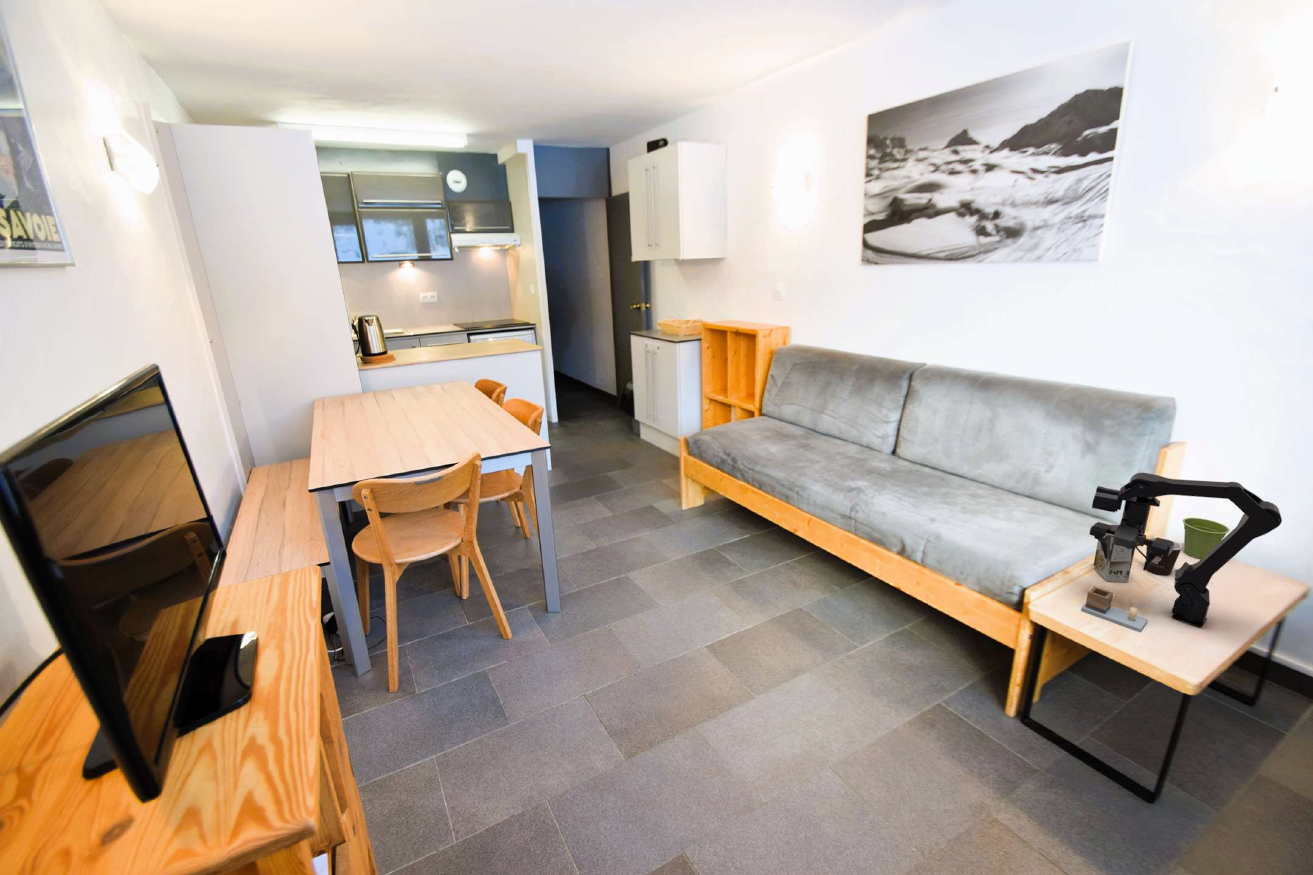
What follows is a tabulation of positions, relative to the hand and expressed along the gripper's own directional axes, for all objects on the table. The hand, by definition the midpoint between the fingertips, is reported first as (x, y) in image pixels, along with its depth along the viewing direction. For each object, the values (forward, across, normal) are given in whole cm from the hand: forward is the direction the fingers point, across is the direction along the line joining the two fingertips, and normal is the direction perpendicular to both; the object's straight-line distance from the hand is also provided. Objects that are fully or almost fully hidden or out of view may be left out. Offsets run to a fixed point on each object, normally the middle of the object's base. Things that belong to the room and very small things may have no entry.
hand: (1124, 564), depth 173 cm
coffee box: (+12, -6, +15) cm, 20 cm away
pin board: (+12, +2, -11) cm, 16 cm away
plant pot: (+12, +9, +52) cm, 54 cm away
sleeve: (+11, -2, -11) cm, 16 cm away
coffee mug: (+12, +2, +30) cm, 32 cm away
